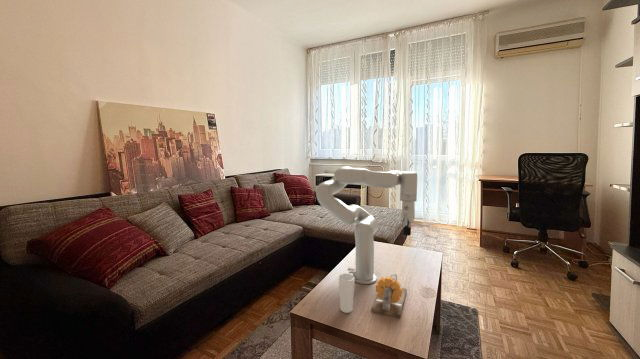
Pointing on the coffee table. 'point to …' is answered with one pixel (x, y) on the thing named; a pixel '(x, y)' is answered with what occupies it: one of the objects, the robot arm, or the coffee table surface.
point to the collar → (394, 286)
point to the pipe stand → (385, 305)
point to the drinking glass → (346, 292)
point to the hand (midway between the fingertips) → (407, 234)
